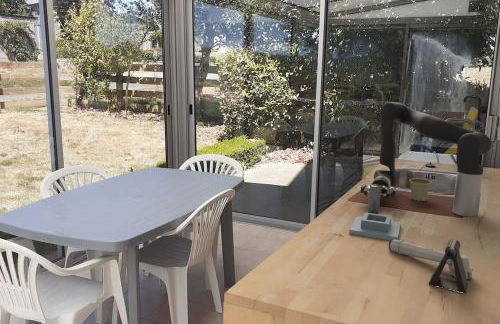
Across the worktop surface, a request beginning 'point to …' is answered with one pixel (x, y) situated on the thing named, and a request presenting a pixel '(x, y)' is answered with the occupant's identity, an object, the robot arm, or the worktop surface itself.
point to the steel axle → (374, 199)
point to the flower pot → (419, 189)
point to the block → (375, 226)
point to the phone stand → (458, 267)
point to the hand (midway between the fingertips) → (376, 194)
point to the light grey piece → (428, 255)
